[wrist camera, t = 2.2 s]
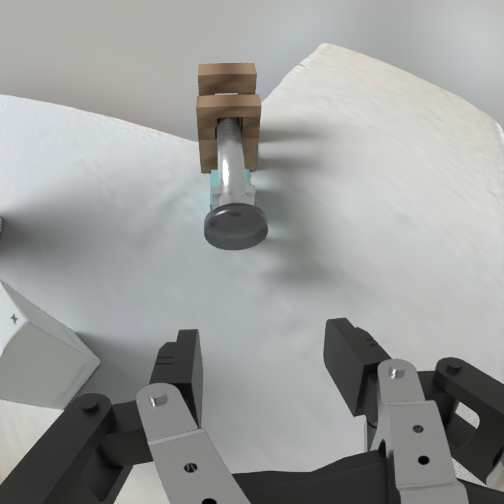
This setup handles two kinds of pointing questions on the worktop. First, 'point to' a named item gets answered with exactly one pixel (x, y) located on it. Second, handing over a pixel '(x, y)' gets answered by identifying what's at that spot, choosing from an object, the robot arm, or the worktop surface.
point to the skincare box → (39, 355)
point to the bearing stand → (227, 109)
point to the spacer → (215, 182)
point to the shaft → (233, 195)
